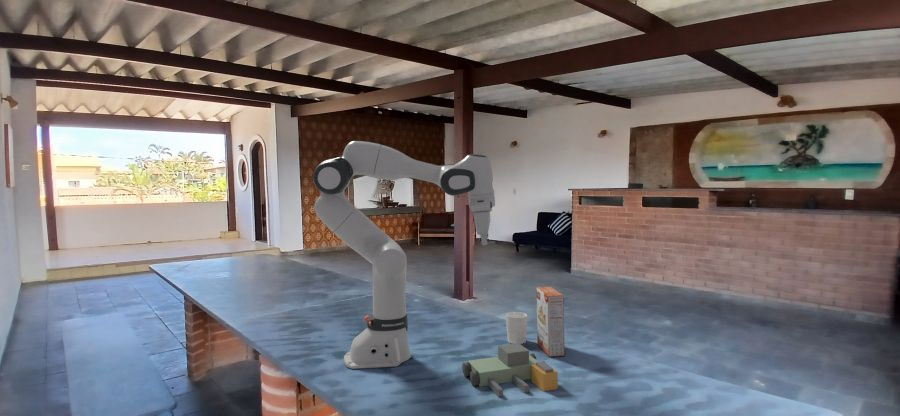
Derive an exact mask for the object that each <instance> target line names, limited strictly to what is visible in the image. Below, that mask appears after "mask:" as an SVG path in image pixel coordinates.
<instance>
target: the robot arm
mask: <svg viewBox="0 0 900 416" xmlns="http://www.w3.org/2000/svg"><path fill="white" fill-rule="evenodd" d="M491 163H492V162H491V159H490V158H489V157H488V156H487V155H484V154H479V153H478V154H477V153H471V154H467V155H466V156H465V157H464V158H463V159H461V160H460V161H458V162H457V163H448V164H447V163H446V164H442V165H437V164H434V163H429V162H425V161H421V160H418V159H417V160H416V159H414V158H412V157H410V156H408V155H406V154H405V153H403V152H401V151H399V150H397V149H396V148H393V147H391V146H387V145H383V144H380V143H377V142H376V143H375V142H371V141H363V140H352V141H350V142H348V143H347V145H345V148H344V150H343V152H342V156H339V157H335V158H328V159H325V160H323V161H322V162H320V163H319V164H318V165H316V168H315V169H314V172H313V176H312V177H313V178H312V179H313V183H314V185H315V188H317V190H319V191H320V192H321V193H320V195H319V196H318V197H317V198H316V200H315V202H314V206H313V210H314V213H315V214H316V215H317V218H319V219H320V221H321V222H322V223H323V224H324V225H325V226H326V228H328V230H329V231H331V232H333V234H334V235H335V236H336V237H337V238H339V239H340V240H341V241H343V243H345V245H347V246H348V247H349V248H350V249H352V250H353V251H355V252H356V253H358V254H359V255H360V256H361V257H362V258H364V259H365V260H366V261H368V262H369V263H370V264H371V265H372V315H371V316H370V315H365V316H364V321H365V323H367V324H366V328H364V330H363V331H361V332H360V333H359V334H358V335H357V336H356V337H354V338H353V340H352V342H351V346H350V350H349V351H348V352H346V353H345V354H344V356H343V363H344V365H345V366H346V367H347V368H349V369H353V370H354V369H372V368H375V369H376V368H393V367H398V366H399V365H401V364H402V363H404V362H406V361H408V360H409V359H410V358H412V355H413V354H412V352H411V348H410V345H409V338H408V329H409V320H408V319H409V318H408V314H407V298H406V296H407V295H406V294H407V293H406V291H407V274H408V273H407V272H408V271H407V270H408V269H407V268H408V266H407V262H408V260H407V259H408V258H407V255H406V252H405V251H404V250H403V248H402V246H400V245H399V243H398V242H396V241H395V239H392V238H391V236H389V235H388V234H387V233H386V232H385V231H384V230H382V229H381V228H380V227H379V226H377V225H376V224H375V223H374V222H373V221H372V220H371V219H370V218H369V217H367V216H366V215H365V214H364V212H362V211H361V210H360V209H358V208H357V206H355V205H354V204H353V203H352V202H351V201H350V200H349V199H348V198H347V196H346V192H347V189H348V187H349V186H350V183H351V181H352V178H354V176H358V175H359V176H360V175H361V176H365V177H366V176H367V177H369V178H374V179H379V180H385V181H396V180H397V181H398V180H400V179H416V180H420V181H425V182H429V183H432V184H435V185H436V186H438V187H439V188H440V189H441V190H442V191H443V192H444V193H445V194H446V195H449V196H451V197H453V196H454V197H455V196H460V195H462V194H466V193H467V195H468V196H467V197H468V207H469V209H470V212H471V213H472V214H473V221H474V222H473V223H474V226H475V231H476V235H479V236H480V239H481V241H480V242H481V245H482V246H487V245H488V238H489V230H490V225H491V224H490V223H491V212H492V211H493V207H495V206H496V200H495V199H496V198H495V189H494V187H493V183H494V175H493V168H492V164H491Z"/></svg>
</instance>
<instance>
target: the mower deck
mask: <svg viewBox="0 0 900 416" xmlns="http://www.w3.org/2000/svg"><path fill="white" fill-rule="evenodd" d="M542 361H543V362H545V361H544V360H542ZM536 362H540V361H539V360H537V357H536V355H535V354H534V353H530V350H529V349H528V348H526V347H525V346H523V344H519V343H517V344H512V343H509V344H502V345H498V346H497V356H493V357H486V358H485V357H484V358H477V359H470V360H467V361H466V362H462V364H461V365H462V367H461V368H462V374H463V376H464V377H469V378H470V383H471V385H472V386H473V387H474V386H478V387H486V386H488V388H490V389H491V391H493V393H494V394H495V395H496V396H497V397H498V398H502V397H504V389H503V388H502V386H500V383H501V384H505V383H513V384H514V385H515V386H516V387H517V388H518V389H520V391H521V392H522V393H524V394H528V393H529V392H530V391H529V387H530V386H529V384H528V383H526V382H525V381H526V380H532V365H534V364H536ZM524 380H525V381H524Z"/></svg>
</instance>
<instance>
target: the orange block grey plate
mask: <svg viewBox="0 0 900 416" xmlns="http://www.w3.org/2000/svg"><path fill="white" fill-rule="evenodd" d="M543 361H544V360H542V361H539V362H536V364H534V365H532V379H531V382H532V383H533V384H534V385H536V386H537V387H538V389H540V390H541V391H542V392H547V391H552V390H558V389H559V387H558V383H559V382H558V380H559V379H558V376H559V375H558V374H559V373H558V371H557V370H556V369H554V368H553V367H552V366H550V365H549V364H547V363H546V361H544V362H543Z"/></svg>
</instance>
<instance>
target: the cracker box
mask: <svg viewBox="0 0 900 416" xmlns="http://www.w3.org/2000/svg"><path fill="white" fill-rule="evenodd" d="M536 327H537V328H536V329H537V331H536V334H537V336H536V337H537V340H536V341H537V344H538V345H539V346H540V347H541V349H542V350H543V351H544V353H545V354H546V356H548V358H554V357H565V354H566V353H565V351H566V350H565V295H563V294H562V293H561V292H559V291H558V290H556V289H555V288H554V287H552V286H537V287H536Z"/></svg>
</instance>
